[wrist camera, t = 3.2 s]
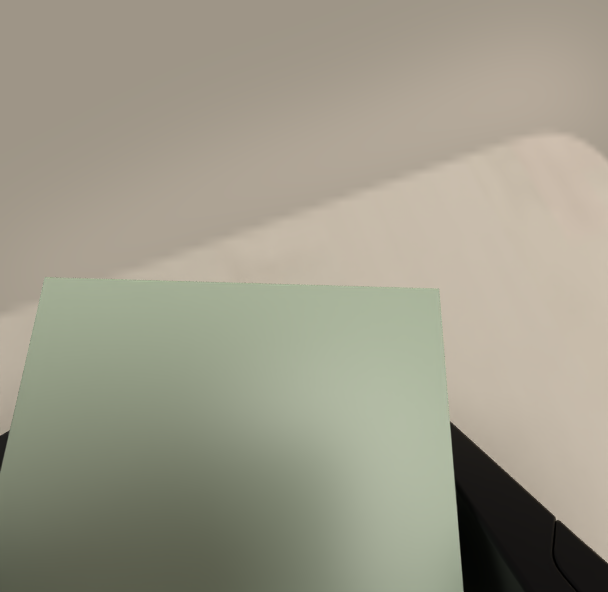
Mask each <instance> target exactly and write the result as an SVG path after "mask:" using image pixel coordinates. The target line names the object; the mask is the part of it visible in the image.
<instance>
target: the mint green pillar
mask: <svg viewBox="0 0 608 592" xmlns="http://www.w3.org/2000/svg"><path fill="white" fill-rule="evenodd" d="M0 592H463V579H462V567H461V555H460V542H459V530H458V517H457V505H456V492H455V480H454V468H453V455H452V443H451V430H450V418H449V406H448V393H447V381H446V368H445V356H444V343H443V331H442V319H441V306H440V294H439V289H433V288H399V287H364V286H330V285H295V284H261V283H226V282H192V281H158V280H123V279H89V278H53V277H45V278H44V283H43V287H42V292H41V296H40V300H39V305H38V309H37V314H36V318H35V322H34V327H33V331H32V335H31V340H30V344H29V349H28V353H27V357H26V362H25V366H24V371H23V375H22V379H21V384H20V388H19V392H18V397H17V401H16V406H15V410H14V414H13V419H12V423H11V428H10V432H9V436H8V441H7V445H6V449H5V454H4V458H3V463H2V467H1V471H0Z"/></svg>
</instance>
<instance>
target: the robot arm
mask: <svg viewBox="0 0 608 592" xmlns="http://www.w3.org/2000/svg"><path fill="white" fill-rule="evenodd" d="M450 430H451V443H452V455H453V468H454V480H455V492H456V505H457V517H458V530H459V542H460V555H461V567H462V579H463V592H608V563H607V562H606V561H605V560H604V559H602V558H601V557H600V556H599V555H598V554H597V553H596V552H594V551H593V550H592V549H591V548H590V547H589V546H588V545H586V544H585V543H584V542H583V541H582V540H581V539H580V538H578V537H577V536H576V535H575V534H574V533H573V532H572V531H571V530H570V529H568V528H567V527H566V526H565V525H564V524H563V523H562V522H561V521H559V520H557V521H556V518H555V516H554V515H553V514H552V513H551V512H549V511H548V510H547V509H546V508H545V507H544V506H543V505H542V504H541V503H540V502H538V501H537V500H536V499H535V498H534V497H533V496H532V495H531V494H530V493H529V492H527V491H526V490H525V489H524V488H523V487H522V486H521V485H520V484H519V483H518V482H516V481H515V480H514V479H513V478H512V477H511V476H510V475H509V474H508V473H507V472H505V471H504V470H503V469H502V468H501V467H500V466H499V465H498V464H497V463H496V462H494V461H493V460H492V459H491V458H490V457H489V456H488V455H487V454H486V453H485V452H483V451H482V450H481V449H480V448H479V447H478V446H477V445H476V444H475V443H474V442H472V441H471V440H470V439H469V438H468V437H467V436H466V435H465V434H464V433H462V432H461V431H460V430H459V429H458V428H457V427H456V426H455V425H454V424H453V423H451V422H450ZM9 432H10V430H9V431H8V432H6V433H4V434H3V435H1V436H0V471H1V467H2V463H3V458H4V454H5V449H6V445H7V441H8V436H9Z"/></svg>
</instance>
